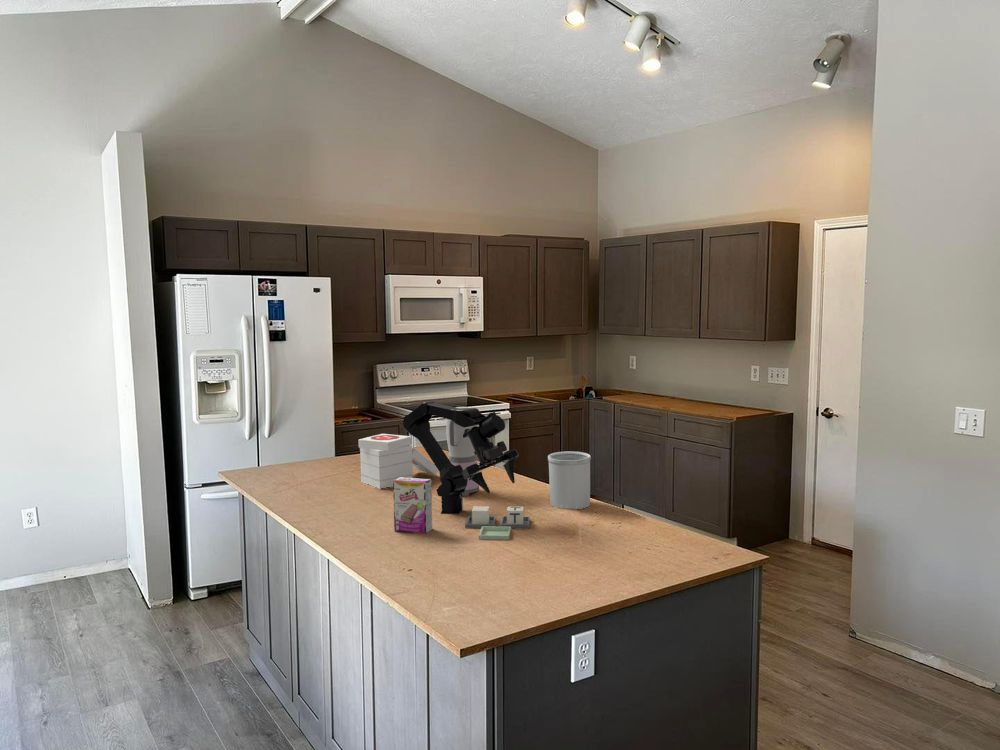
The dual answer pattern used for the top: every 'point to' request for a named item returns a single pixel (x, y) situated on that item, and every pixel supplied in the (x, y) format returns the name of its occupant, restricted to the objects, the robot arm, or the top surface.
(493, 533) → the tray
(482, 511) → the blank cube
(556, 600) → the top surface
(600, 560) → the top surface
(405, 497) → the candy bar box
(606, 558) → the top surface
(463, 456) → the blender
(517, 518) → the letter cube
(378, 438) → the pizza boxes
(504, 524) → the tray right
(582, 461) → the utensil holder
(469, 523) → the tray left
